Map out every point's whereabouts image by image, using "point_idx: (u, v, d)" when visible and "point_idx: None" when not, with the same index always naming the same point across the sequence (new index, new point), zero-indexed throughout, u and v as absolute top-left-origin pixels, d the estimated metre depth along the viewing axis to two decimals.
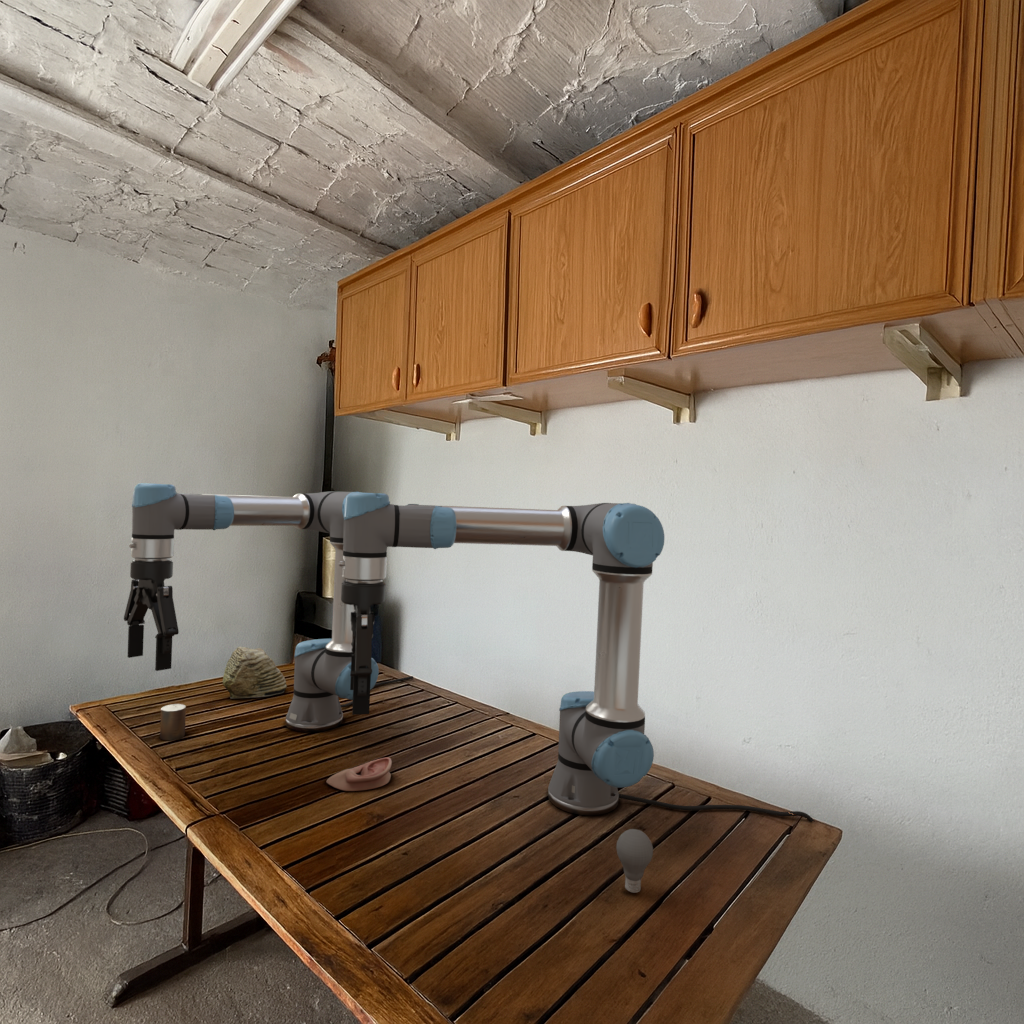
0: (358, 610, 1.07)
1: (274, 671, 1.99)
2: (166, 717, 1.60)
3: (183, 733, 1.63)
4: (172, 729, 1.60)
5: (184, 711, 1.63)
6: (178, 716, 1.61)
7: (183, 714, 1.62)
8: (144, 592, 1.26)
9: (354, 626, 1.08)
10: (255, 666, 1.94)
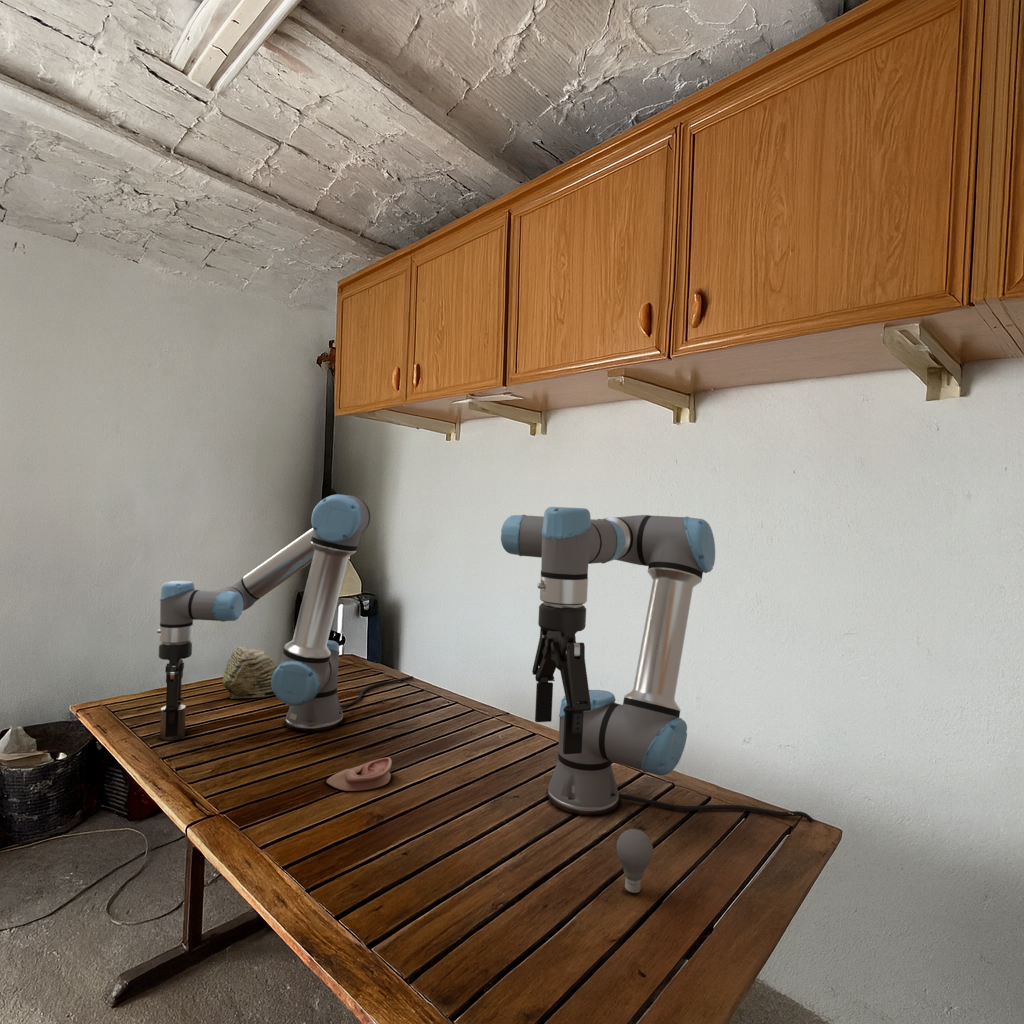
0: (564, 637, 0.97)
1: None
2: None
3: (183, 733, 1.63)
4: None
5: (184, 711, 1.63)
6: (178, 716, 1.61)
7: (183, 714, 1.62)
8: None
9: (558, 655, 0.98)
10: (255, 666, 1.94)
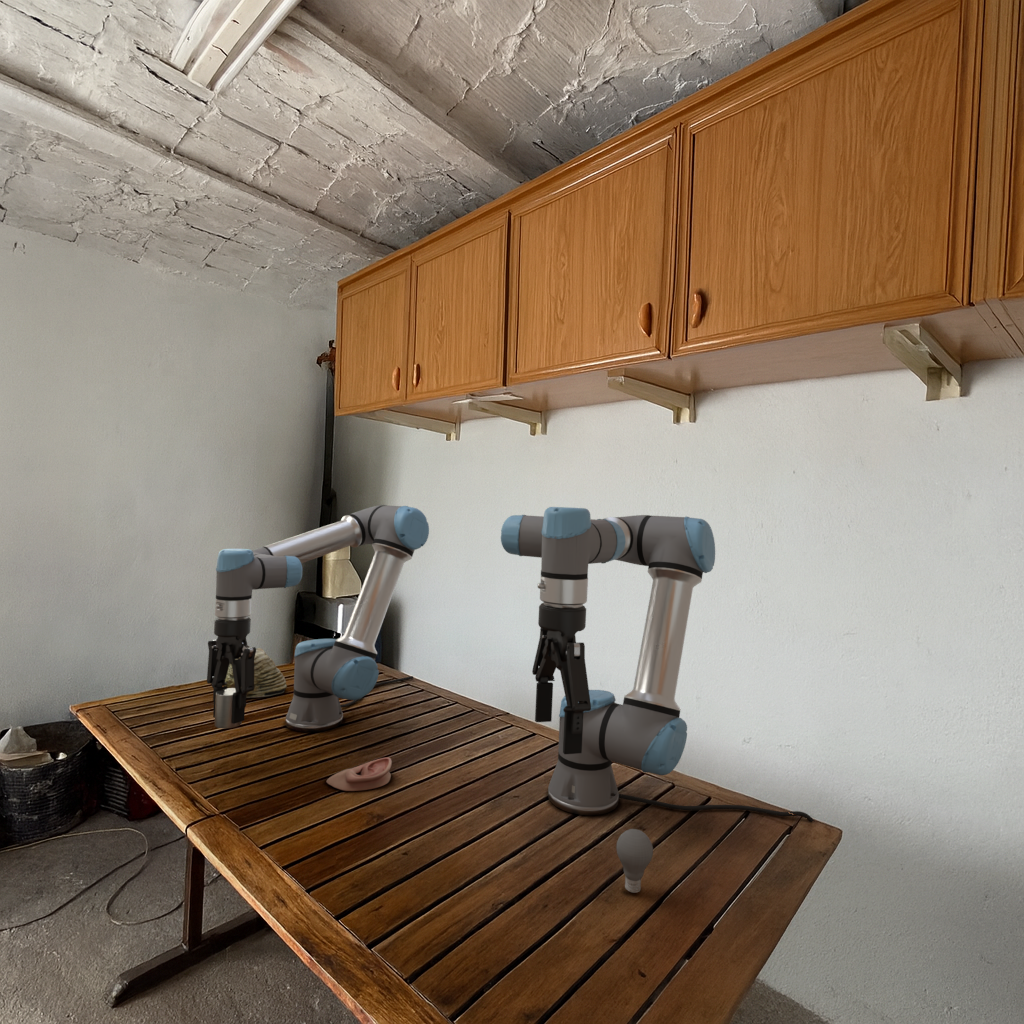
0: (564, 637, 0.97)
1: (274, 671, 1.99)
2: (231, 702, 1.41)
3: None
4: None
5: None
6: None
7: None
8: (229, 648, 1.41)
9: (558, 655, 0.98)
10: (255, 666, 1.94)
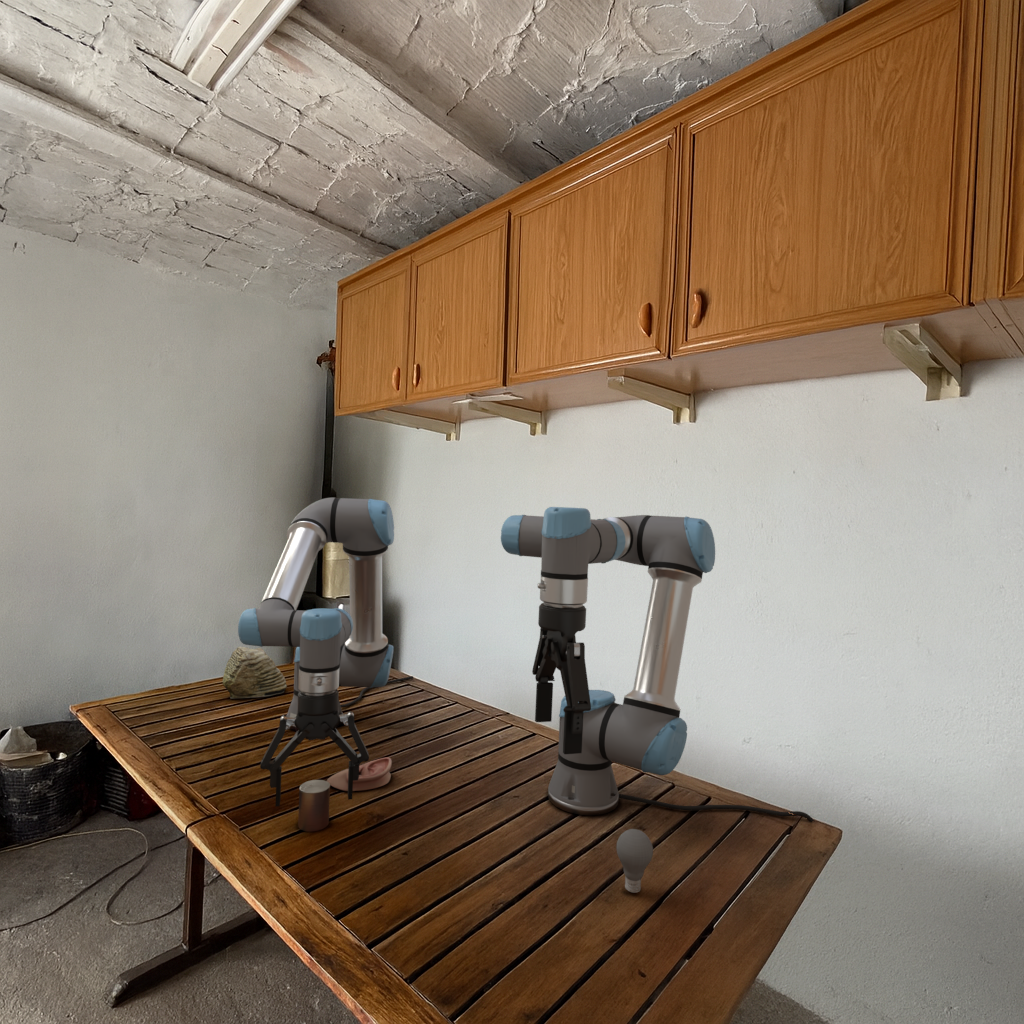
0: (564, 637, 0.97)
1: (274, 671, 1.99)
2: (328, 796, 1.22)
3: None
4: None
5: None
6: None
7: None
8: (326, 726, 1.21)
9: (558, 655, 0.98)
10: (255, 666, 1.94)
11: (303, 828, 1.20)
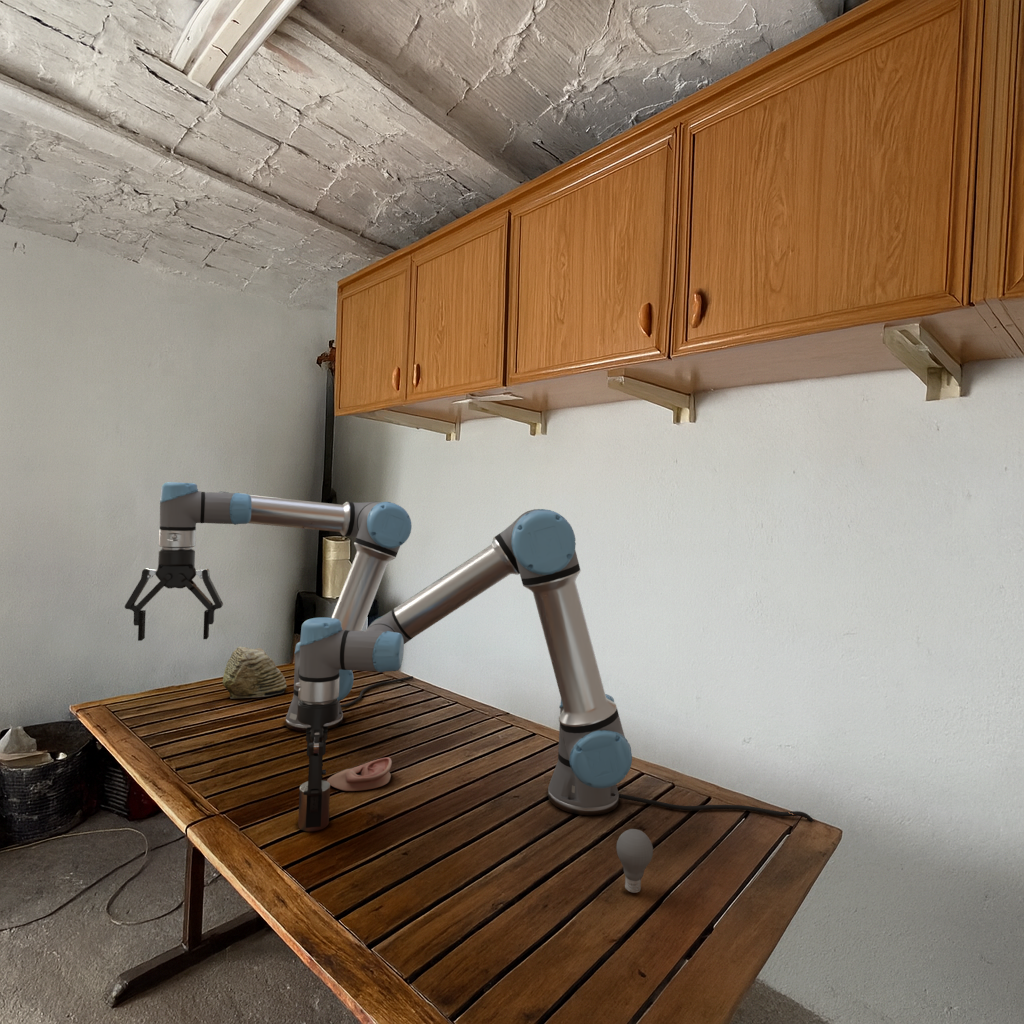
0: (312, 729, 1.19)
1: (274, 671, 1.99)
2: (328, 796, 1.22)
3: None
4: None
5: None
6: None
7: None
8: (182, 576, 1.47)
9: (308, 745, 1.20)
10: (255, 666, 1.94)
11: (303, 828, 1.20)
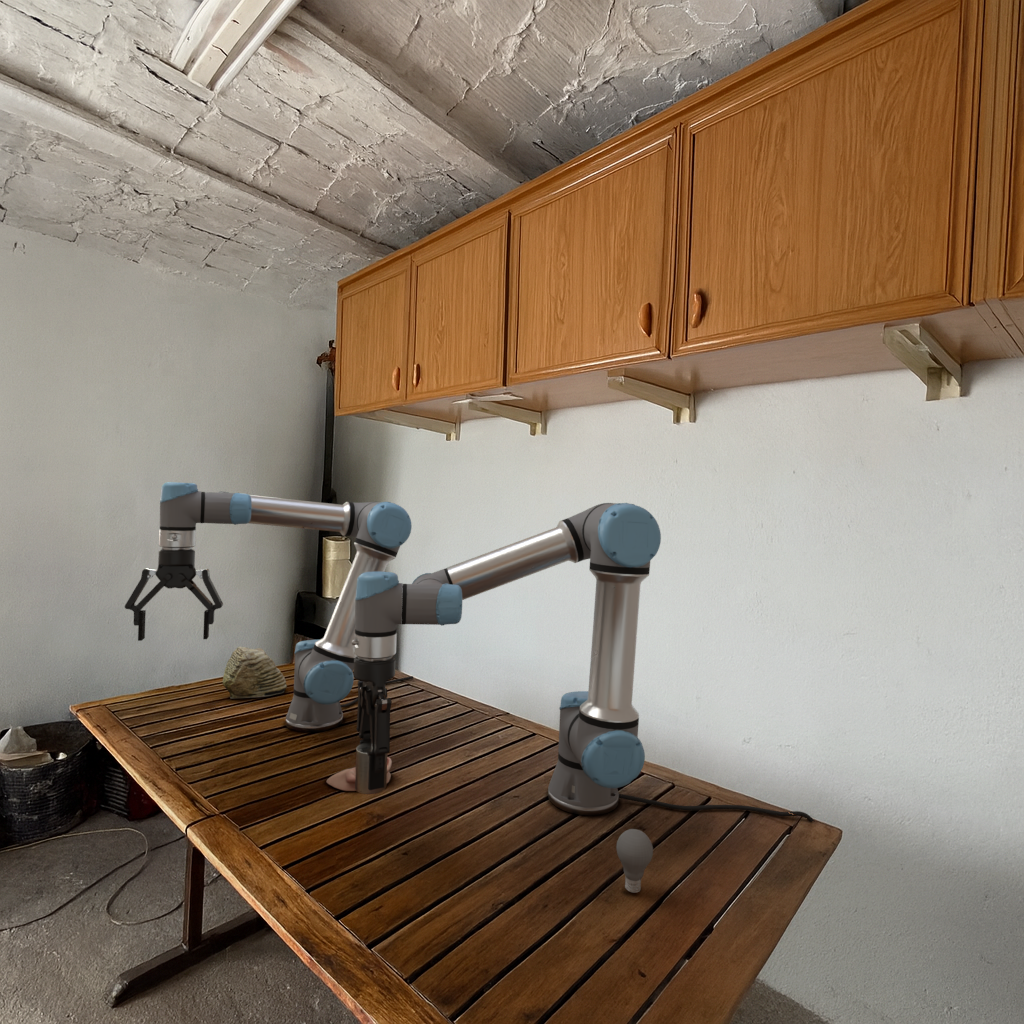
0: (375, 687, 1.13)
1: (274, 671, 1.99)
2: None
3: None
4: None
5: None
6: None
7: None
8: (182, 576, 1.47)
9: (369, 704, 1.14)
10: (255, 666, 1.94)
11: (364, 791, 1.14)
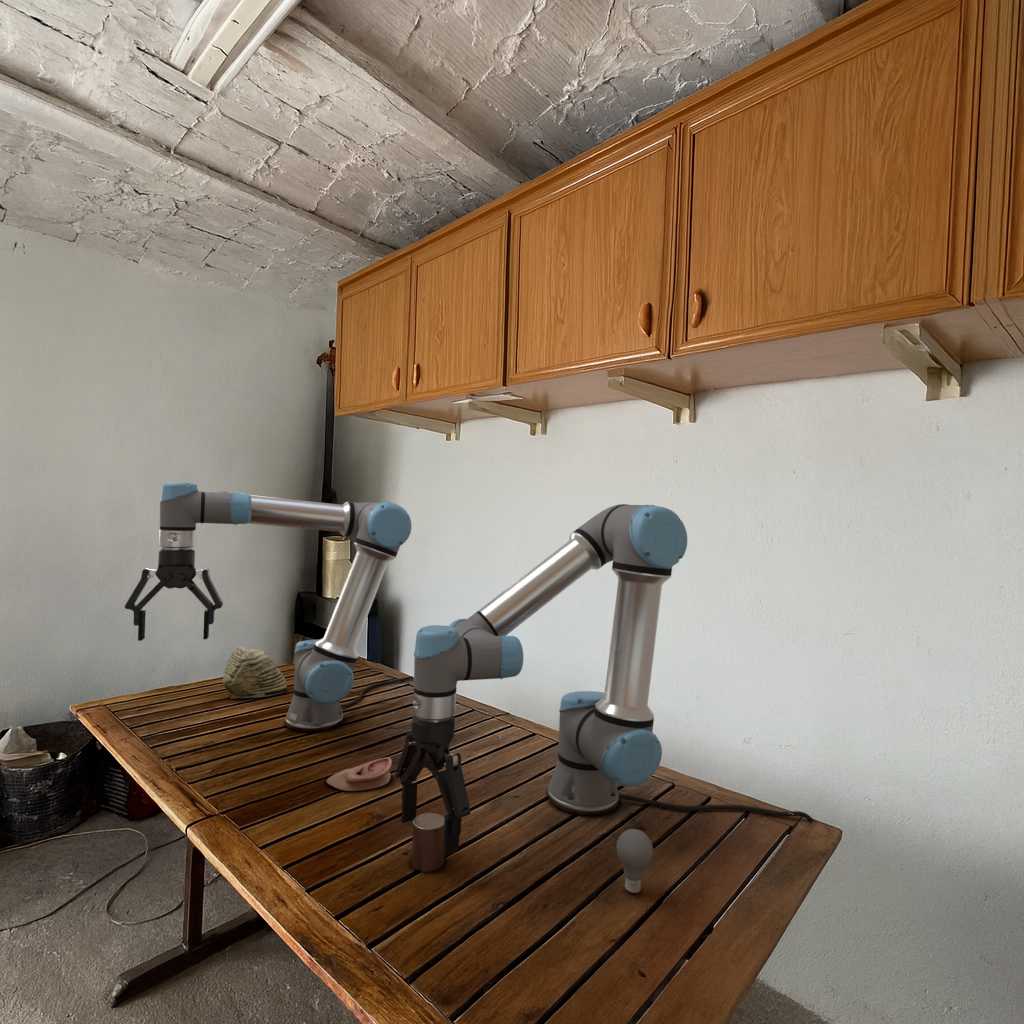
0: (440, 749, 1.08)
1: (274, 671, 1.99)
2: None
3: None
4: None
5: None
6: None
7: None
8: (182, 576, 1.47)
9: (434, 765, 1.08)
10: (255, 666, 1.94)
11: (426, 869, 1.09)
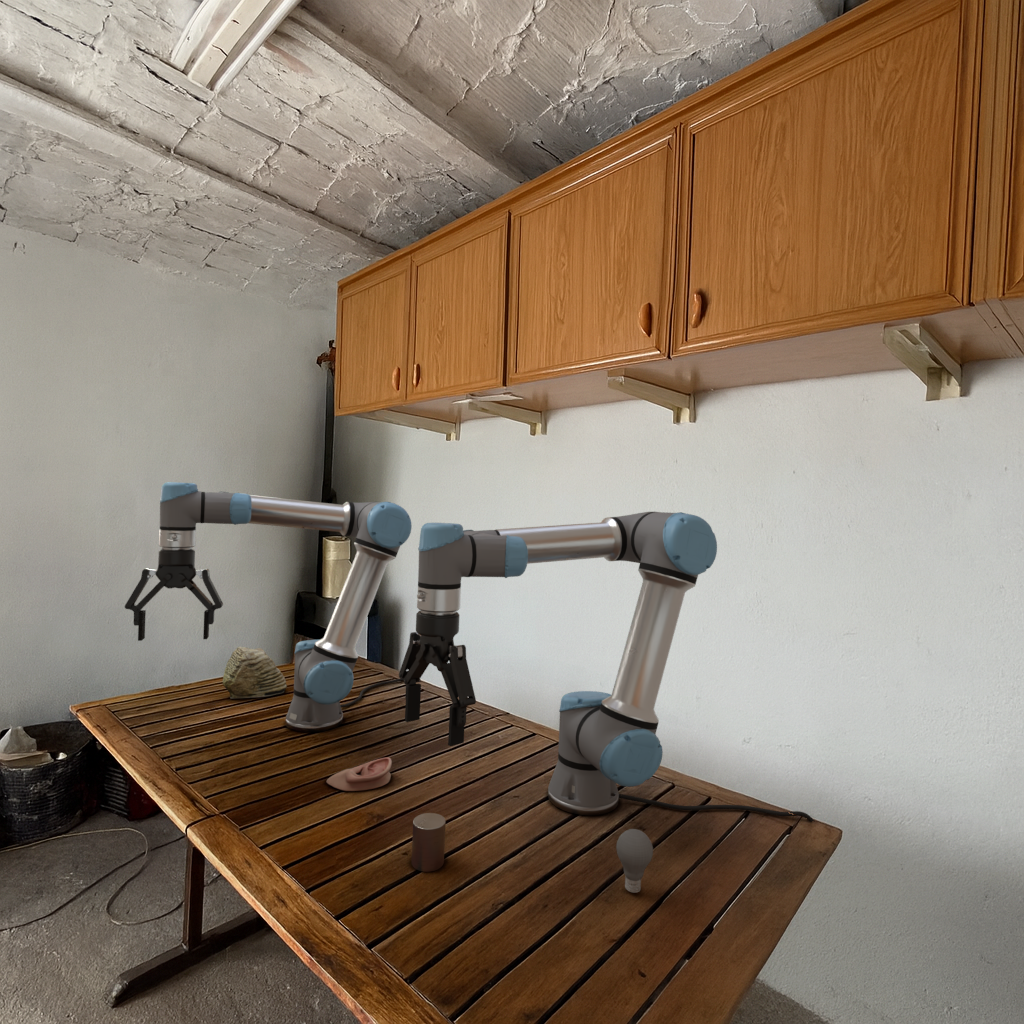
0: (444, 642, 1.07)
1: (274, 671, 1.99)
2: None
3: None
4: None
5: None
6: None
7: None
8: (182, 576, 1.47)
9: (439, 658, 1.08)
10: (255, 666, 1.94)
11: (426, 869, 1.09)
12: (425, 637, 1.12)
